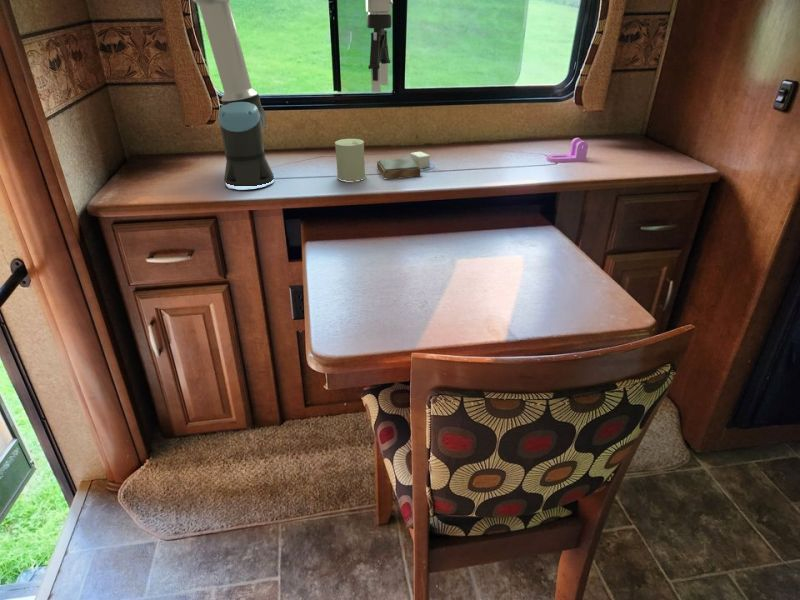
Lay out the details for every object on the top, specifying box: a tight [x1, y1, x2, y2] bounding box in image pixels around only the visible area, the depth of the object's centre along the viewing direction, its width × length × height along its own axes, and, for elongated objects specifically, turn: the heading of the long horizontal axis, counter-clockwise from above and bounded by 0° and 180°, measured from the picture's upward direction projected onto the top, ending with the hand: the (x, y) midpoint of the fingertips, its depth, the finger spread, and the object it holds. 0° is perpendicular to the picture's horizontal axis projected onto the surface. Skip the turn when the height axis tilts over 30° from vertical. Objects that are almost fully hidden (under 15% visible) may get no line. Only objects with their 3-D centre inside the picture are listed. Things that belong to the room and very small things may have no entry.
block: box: [410, 151, 430, 169], centre depth 178 cm, size 4×6×4 cm, turn 28°
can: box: [334, 138, 367, 181], centre depth 165 cm, size 9×9×12 cm
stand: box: [376, 157, 422, 179], centre depth 172 cm, size 12×12×3 cm
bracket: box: [545, 137, 589, 164], centre depth 181 cm, size 13×6×7 cm, turn 97°
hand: (380, 88), depth 168 cm, fingers open, 13 cm apart
